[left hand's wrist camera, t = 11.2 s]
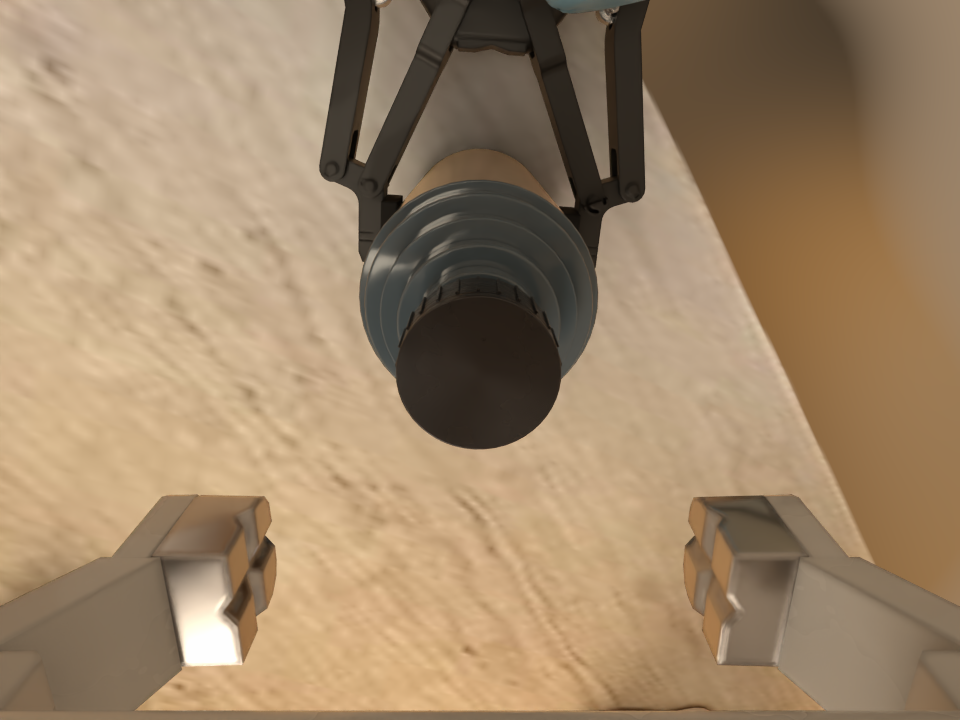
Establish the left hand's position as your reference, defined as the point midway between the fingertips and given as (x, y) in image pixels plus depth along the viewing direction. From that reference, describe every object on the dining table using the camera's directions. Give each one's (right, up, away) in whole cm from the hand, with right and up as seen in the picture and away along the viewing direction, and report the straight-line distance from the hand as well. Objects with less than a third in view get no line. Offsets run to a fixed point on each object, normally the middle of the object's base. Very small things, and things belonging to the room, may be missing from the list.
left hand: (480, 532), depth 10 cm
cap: (0, +2, +6) cm, 7 cm away
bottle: (0, +11, +30) cm, 32 cm away
